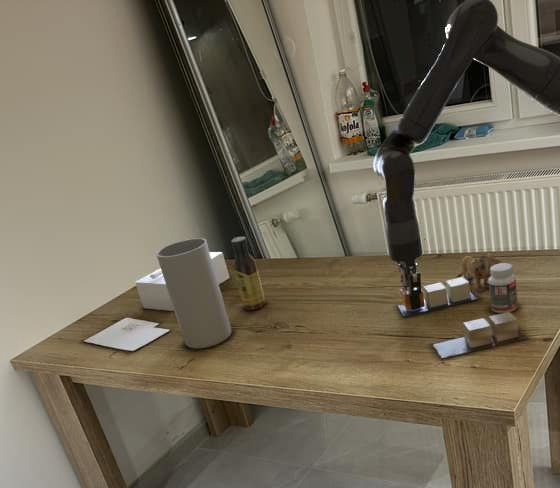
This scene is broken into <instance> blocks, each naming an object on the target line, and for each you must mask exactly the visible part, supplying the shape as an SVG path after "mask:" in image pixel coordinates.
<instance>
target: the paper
mask: <svg viewBox="0 0 560 488" xmlns="http://www.w3.org/2000/svg"><path fill="white" fill-rule="evenodd" d="M158 325H160V322H159V323H158V322H153V321H148V320H143V319H138V318H137V319H136V318H132V317H125V318H123V319H121V320H119V321H116V323H114V324H112V325H109V326H108V327H107V328H105V329H102V330H101V331H100V332H97V333H96V334H93V335H92V336H90V337H88V338H86V339H84V340H83V342H85V343H90V344H95V345H100V346H104V347H107V348H108V347H109V348H113V349H119V350H124V351H131V352H134V351H136V350H137V349H139V348H141V347H143V346H145V345H147V344H149V343H150V342H151V343H152V341H154V340H156V339H157V338H159V337H162V336H163V335H165V334H166V333H168V332H169V331H170V329H167V328H160V327H157V326H158Z"/></svg>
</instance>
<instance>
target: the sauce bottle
mask: <svg viewBox="0 0 560 488" xmlns="http://www.w3.org/2000/svg"><path fill="white" fill-rule="evenodd" d="M230 241H231V242H230V243H231V247H232V249H233V251H234V265H233V270H234V275H235V279H236V282H237V287H238V290H239V293H240V298H241V302H242V304H243V308H244V309H245V310H249V311H254V310H257V309H260V308H262V307H264V306H265V304H266V300H265V294H264V290H263V286H262V281H261V277H260V273H259V269H258V267H257V262H256V260H255V258H254V256H252V255H251V254H250V250H249V249H248V244H247V243H248V241H247V237H246V236H237V237H234V238H233V239H231V240H230Z"/></svg>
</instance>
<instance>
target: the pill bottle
mask: <svg viewBox="0 0 560 488" xmlns="http://www.w3.org/2000/svg"><path fill="white" fill-rule="evenodd" d="M513 272H514V267H513V264H511V263H508V262H501V263H500V264H496V265H494V266H492V267H491V268H490V273H491V277H490V278H488V284H489V287H488V289H489V301H490V308H491V311H492V312H494V313H498V314H502V313H506V312H510V313H511V312H513V311H515V310H517V308H518V293H517V278H516V275H515V274H514V273H513Z"/></svg>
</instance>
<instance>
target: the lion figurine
mask: <svg viewBox="0 0 560 488" xmlns="http://www.w3.org/2000/svg"><path fill="white" fill-rule="evenodd" d="M500 263H502V260H500V259H497V258H496V257H494V254H493V253H486V254H484V255H482V256H480V257H479V258H476V259H474V257H473V256H469V255H466V256H464V257H463V258H462V260H461V270H462V271H461V273H460V274H458V275H457V276H456V277H457V278H460V277H464V278H465V279H466V280H467V279H469V280H470V279H473V277H474V278H475V282H476V283H475V284H476V290H477V292H483V286H484V288H489V279H490V277H491V276H492V275H491V273H490V268H491V267H492V266H494V265H496V264H500ZM481 280H483V286H482V283H481V282H482V281H481Z"/></svg>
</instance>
